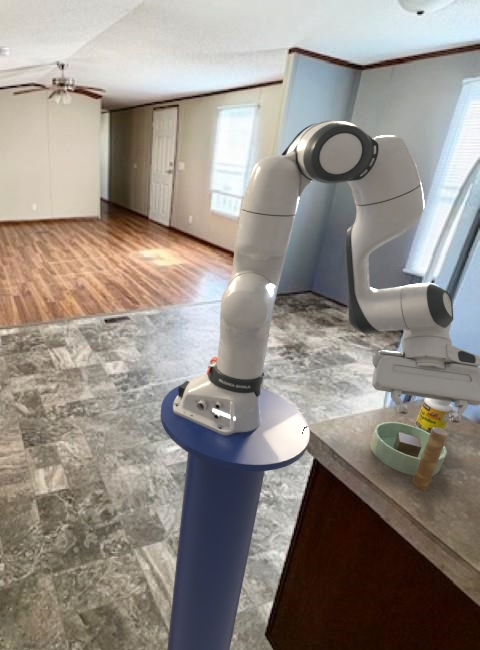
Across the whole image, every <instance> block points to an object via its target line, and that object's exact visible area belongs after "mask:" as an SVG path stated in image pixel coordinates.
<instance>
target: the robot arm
mask: <svg viewBox="0 0 480 650" xmlns="http://www.w3.org/2000/svg"><path fill="white" fill-rule="evenodd" d="M312 182H318V183H322V184H340V183H344V182H345V183H347V184H348V185H349V187H350V189H351V191H352V197H353V201H354V204H355V209H356V213H355V220H354V222H353V224H352V225H351V226H349V227H348V228H347V230H346V234H345V238H344V239H345V240H344V255H345V259H344V260H345V271H346V273H345V275H346V284H347V318H348V321H349V322H348V323H349V324H350V326H351V327H352V328H354V329H355V330H357V331H358V332H360V333H362V334H363V335H372V334H379V333H383V332H393V331H403V338H402V340H401V352H400V351H390V350H385V349H381V350H379V351H376V352H374V354H373V355H372V365H373V367H374V368H373V373H372V379H371V385H372V387H373V388H374V390H376V391H380V392H387V393H390V398H391V399H392V401H393V403H394V404H395V406H396V413H397V414H402V415H406V414H408V413H409V412H408V411H409V404H406V403H404V401H403V400H402V399H401V396H402V395H405V396H412V397H419V398H424V399H425V398H431V399H437V400H443V401H450V402H451V403H454V407H455V408H456V410H455V412H454V411H451V413H450V414H449V418H448V421H449V422H450V423H455V424H461V423H462V421H463V416H462V414H463V413H464V412H465V411H466V409H467V408H468V406H476V407H478V406H480V356H479V355H478V354H475V353H473V352H469V351H466V350H464V349H462V348H459V347H457V346H454V345H453V342H452V341H453V340H452V339H451V336H450V330H451V327H452V323H453V321H454V308H453V307H454V304H453V299H452V296H451V294H450V293H449V291H447V290H446V289H445V288H443V287H441V286H440V285H438V284H435V283H433V282H423V283H414V284H407V285H403V286H393V287H387V288H379V289H377V288H373V287H372V286H371V282H370V266H369V265H370V264H369V257H370V255H371V254H372V253H373V252H374V251H376V250H377V249H379V248H380V247H382V246H384V245H385V244H387V243H389V242H391V241H393V240H396V239H397V238H398V237H400V236H402V235H403V234H405V233H406V232H408V231H409V230H410V229H411V228H412V227H413V226H415V224H417V222H418V220H420V218H421V216H422V214H423V213H424V209H425V199H424V190H423V186H422V182H421V178H420V174H419V171H418V168H417V165H416V162H415V159H414V158H413V154H412V153H411V151H410V149H409V147H408V144H407V143H406V141H405V140H404V139H403V138H401V137H400V136H397V135H392V134H386V135H378V136H375V137H372V136H370V135H369V134H368V133H366V131H364V129H362V128H361V127H360V126H358V125H356V124H354V123H351V122H348V121H339V120H333V119H332V120H323V121H320V122H315V123H313V124H310V125H308V126H306V127H305V128H303V129H302V130H301V131H299V132H298V133H297V134H296V136H294V138H293V140H292V141H291V142H290V143H289V144H288V146H287V147H286V148H285V149H284V151H283V152H282V153H281V154H277V155H269V156H266V157H263V158H262V159H260V160H259V161H257V163H255V165H254V167H253V169H252V171H251V174H250V176H249V178H248V182H247V185H246V189H245V191H244V195H243V199H242V204H241V208H240V214H239V218H238V224H237V230H236V235H235V240H234V251H233V261H232V268H231V275H230V278H229V281H228V285H227V286H226V288H225V290H224V291H223V293H222V295H221V299H220V311H219V312H220V313H219V343H218V350H217V356H212V358H211V359H210V361H209V364H208V366H207V369H206V373H204V374H201V375H198V376H195V377H194V378H192V379H191V380H190V381H189V380H185V381H184V382H183V383H182V384H180V385H181V386H180V387H179V388H178V392H179V394H178V396H177V397H176V399H175V401H174V404H173V411H174V413H175V414H177V415H179V416H181V417H183V418H186V419H188V420H190V421H192V422H194V423H197V424H199V425H201V426H203V427H206V428H208V429H210V430H212V431H215V432H217V433H219V434H221V435H225V436H227V435H231V434H233V433H238V432H248V431H252V430H254V429H256V428H257V427H259V425H260V424H261V416H260V408H259V398H260V393H261V391H262V388H264V387H263V386H264V380H265V378H264V377H265V371H264V367H265V362H266V361H265V360H266V357H267V356H266V354H267V348H268V343H269V336H270V329H271V324H272V319H273V312H274V306H275V302H276V299H277V295H278V290H279V285H280V281H281V277H282V273H283V270H284V266H285V265H284V264H285V260H286V256H287V253H288V249H289V246H290V245H289V244H290V240H291V236H292V233H293V227H294V224H295V220H296V215H297V211H298V207H299V200H300V198H301V197H302V196H301V195H302V193H303V192H304V190H305V189H306V187H307V186H308V185H310V184H311V183H312Z"/></svg>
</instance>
